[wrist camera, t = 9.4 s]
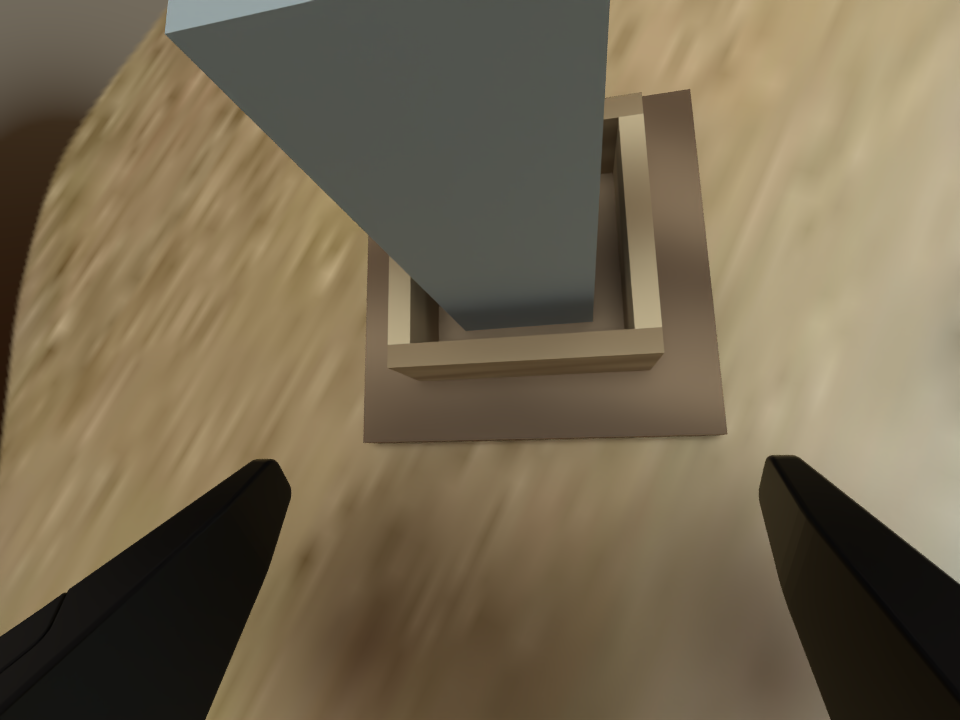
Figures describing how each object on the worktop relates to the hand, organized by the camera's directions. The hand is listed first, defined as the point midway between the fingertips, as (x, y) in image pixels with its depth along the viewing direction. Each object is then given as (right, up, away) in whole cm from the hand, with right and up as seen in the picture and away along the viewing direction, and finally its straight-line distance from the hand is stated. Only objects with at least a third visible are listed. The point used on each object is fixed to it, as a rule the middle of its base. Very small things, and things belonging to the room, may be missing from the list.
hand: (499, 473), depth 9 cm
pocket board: (+1, +5, +9) cm, 11 cm away
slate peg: (+1, +5, +8) cm, 10 cm away
